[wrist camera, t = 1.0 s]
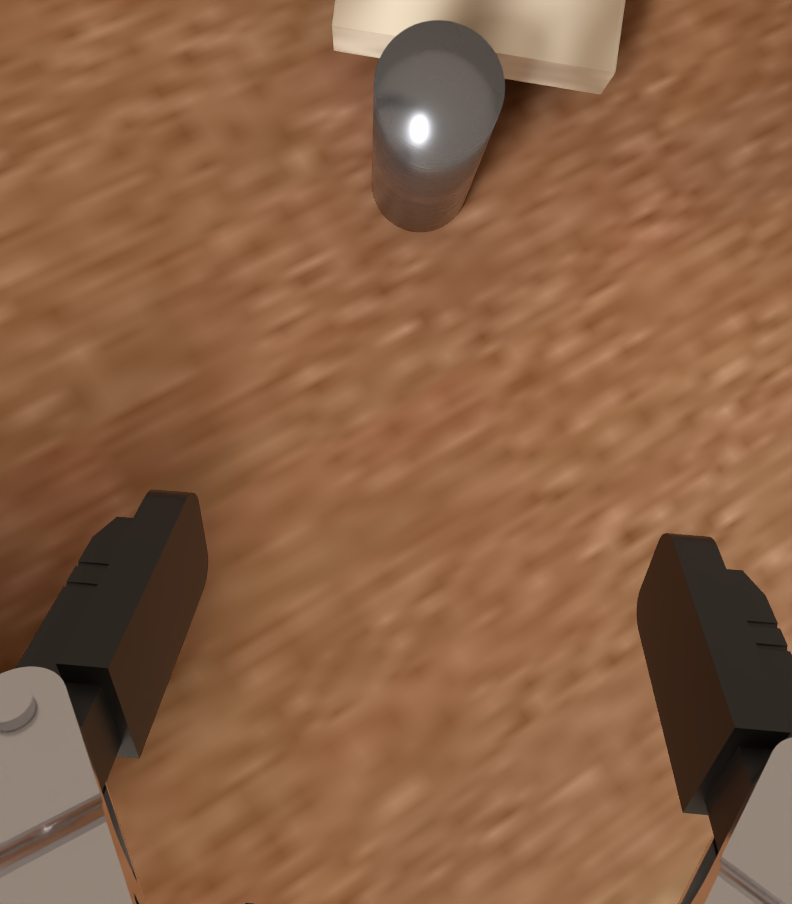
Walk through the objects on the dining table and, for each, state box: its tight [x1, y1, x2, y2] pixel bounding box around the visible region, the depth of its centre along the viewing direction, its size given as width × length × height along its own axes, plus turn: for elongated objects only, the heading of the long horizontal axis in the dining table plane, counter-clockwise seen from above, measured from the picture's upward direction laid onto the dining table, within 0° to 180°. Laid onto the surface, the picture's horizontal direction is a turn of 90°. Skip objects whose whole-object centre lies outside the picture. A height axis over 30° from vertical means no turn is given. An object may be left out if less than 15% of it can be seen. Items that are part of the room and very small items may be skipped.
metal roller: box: [372, 20, 505, 232], centre depth 32 cm, size 5×5×10 cm
